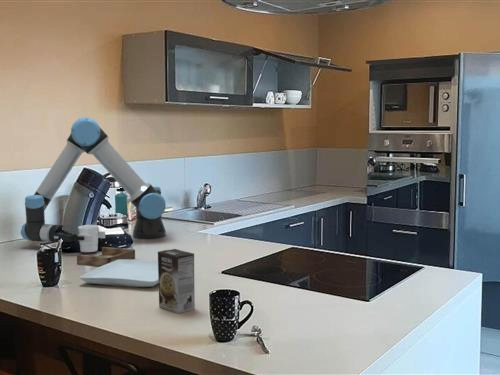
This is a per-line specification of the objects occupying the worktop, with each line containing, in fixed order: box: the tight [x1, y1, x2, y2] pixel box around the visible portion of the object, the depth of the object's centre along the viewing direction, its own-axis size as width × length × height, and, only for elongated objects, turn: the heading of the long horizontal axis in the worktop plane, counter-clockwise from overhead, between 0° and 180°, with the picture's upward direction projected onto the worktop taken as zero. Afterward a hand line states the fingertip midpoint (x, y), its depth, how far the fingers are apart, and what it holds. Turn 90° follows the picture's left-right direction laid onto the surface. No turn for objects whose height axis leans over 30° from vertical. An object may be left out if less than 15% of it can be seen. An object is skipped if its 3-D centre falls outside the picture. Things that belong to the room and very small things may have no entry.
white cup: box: [77, 224, 99, 253], centre depth 243 cm, size 8×8×10 cm
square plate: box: [78, 259, 159, 288], centre depth 202 cm, size 27×27×4 cm
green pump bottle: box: [114, 186, 129, 218], centre depth 310 cm, size 6×7×20 cm
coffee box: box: [157, 248, 196, 315], centre depth 167 cm, size 9×6×16 cm
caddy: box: [76, 246, 136, 267], centre depth 228 cm, size 15×16×4 cm
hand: (98, 236), depth 241 cm, fingers closed on white cup, 8 cm apart
